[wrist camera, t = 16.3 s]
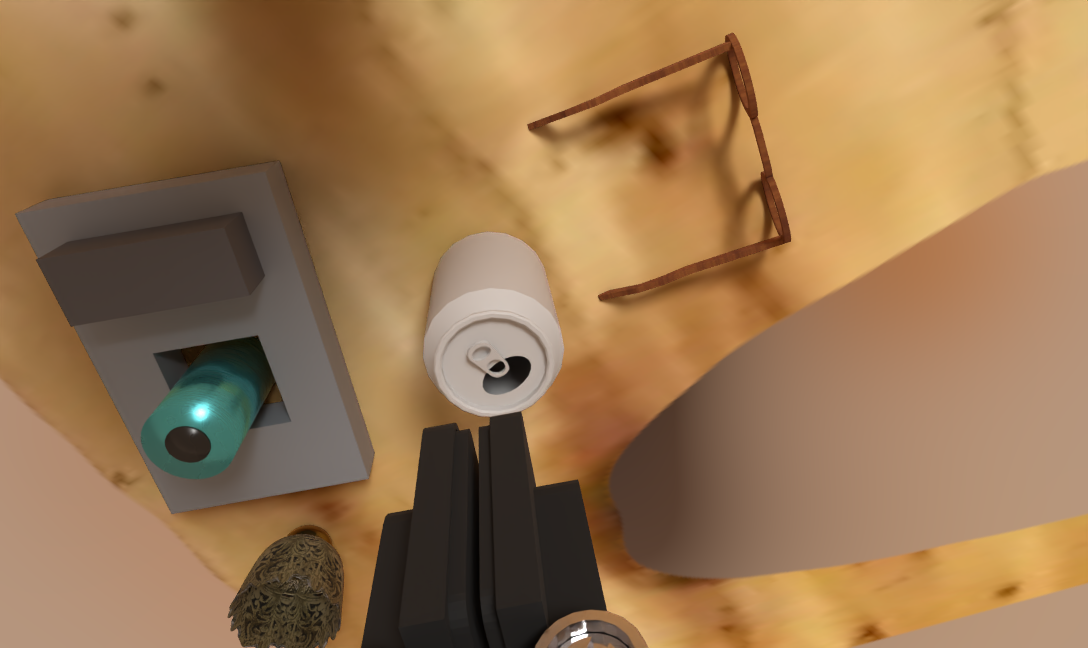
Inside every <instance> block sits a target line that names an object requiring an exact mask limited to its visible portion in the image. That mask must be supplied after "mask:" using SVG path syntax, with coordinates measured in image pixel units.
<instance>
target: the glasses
mask: <svg viewBox="0 0 1088 648" xmlns="http://www.w3.org/2000/svg"><path fill="white" fill-rule="evenodd" d="M726 51H727V54H728V58H729V62H730V66H731V69H732V73H733V77H734V81H735V84H736V87H737V90H738V93H739V96H740V99H741V102H742V104H743V106H744V109H745V111H746V112H747V114H748V116H749V117H750V120H751V123H752V126H753V130H754V133H755V137H756V141H757V145H758V148H759V152H760V156H761V160H762V164H763V168H764V171H763V172H761V180H762V185H763V189H764V192H765V196H766V200H767V203H768V207H769V210H770V213H771V216H772V219H773V222H774V225H775V227H776V230H777V232H778V234H779V236H777V237H774V238H771V239H767V240H764V241H761V242H758V243H755V244H752V245H749V246H746V247H743V248H740V249H737V250H734V251H731V252H728V253H725V254H722V255H719V256H716V257H713V258H710V259H706V260H703V261H700V262H697V263H694V264H691V265H688V266H685V267H683V268H681V269H678V270H676V271H673V272H671V273H669V274H666V275H664V276H661V277H659V278H656V279H653V280H650V281H647V282H645V283H642V284H638V285H633V286H628V287H623V288H618V289H613V290H609V291H607V292H604V293H602V294H600V295H598V296H599V298H600V300H604V299H609V298H614V297H620V296H625V295H630V294H635V293H639V292H642V291H646V290H649V289H652V288H655V287H658V286H661V285H664V284H667V283H669V282H672V281H674V280H676V279H679V278H681V277H684V276H686V275H689V274H692V273H695V272H698V271H701V270H704V269H708V268H711V267H714V266H717V265H720V264H723V263H726V262H729V261H732V260H735V259H738V258H741V257H745V256H748V255H751V254H754V253H757V252H760V251H763V250H766V249H769V248H772V247H775V246H779V245H782V244H784V243H788V242H791V234H790V229H789V224H788V220H787V216H786V213H785V209H784V206H783V203H782V199H781V196H780V193H779V191H778V188H777V185H776V182H775V180H774V178H773V174H772V168H771V164H770V160H769V156H768V152H767V148H766V145H765V141H764V137H763V133H762V130H761V126H760V123H759V120H758V117H757V116H758V110H757V103H756V97H755V93H754V88H753V84H752V80H751V76H750V73H749V69H748V66H747V63H746V60H745V56H744V54H743V51H742V48H741V46H740V43H739V41H738V39H737V37H736V35H735V34H734V33H731V34H728V35H726V36H725V43H723V44H720V45H718V46H716V47H713V48H711V49H708V50H706V51H703V52H701V53H699V54H696V55H694V56H691V57H689V58H687V59H684V60H682V61H679V62H677V63H674V64H672V65H670V66H667V67H665V68H662V69H660V70H658V71H655V72H653V73H650V74H648V75H645V76H643V77H641V78H638V79H636V80H633V81H631V82H629V83H626V84H624V85H621V86H619V87H617V88H615V89H613V90H611V91H609V92H607V93H605V94H603V95H600V96H598V97H596V98H594V99H591V100H589V101H586V102H584V103H582V104H579V105H577V106H574V107H572V108H569V109H567V110H565V111H562V112H559V113H557V114H554V115H551V116H549V117H546V118H543V119H541V120H538V121H535V122H533V123H530V124H527V125H528V128H529V130H532V129H534V128H537V127H540V126H542V125H545V124H548V123H551V122H553V121H556V120H559V119H562V118H564V117H567V116H570V115H573V114H575V113H578V112H581V111H583V110H586V109H589V108H591V107H594V106H597V105H599V104H601V103H604V102H606V101H608V100H610V99H612V98H615V97H617V96H619V95H621V94H624V93H626V92H628V91H631V90H633V89H636V88H638V87H641V86H643V85H645V84H648V83H650V82H653V81H655V80H658V79H660V78H662V77H665V76H667V75H670V74H672V73H675V72H677V71H680V70H682V69H684V68H687V67H689V66H692V65H694V64H697V63H699V62H702V61H704V60H706V59H709V58H711V57H714V56H716V55H719V54H721V53H724V52H726ZM737 62H738V64H737ZM738 65H739V68H740V71H739V68H738ZM740 72H741V75H742V78H741V75H740ZM742 79H743V82H744V85H743V82H742ZM744 86H745V88H744ZM745 90H746V91H745ZM772 196H773V197H772ZM773 199H774V200H773ZM774 202H775V204H774ZM775 205H776V207H775ZM776 209H777V210H776ZM777 212H778V213H777Z"/></svg>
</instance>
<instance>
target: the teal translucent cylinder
mask: <svg viewBox="0 0 1088 648" xmlns="http://www.w3.org/2000/svg"><path fill="white" fill-rule="evenodd" d="M274 382H275V378H274V375H273V373H272V370H271V367H270V365H269V362H268V360H267V357H266V355H265V352H264V349H263V347H262V344H261V342H260V340H258V339H256V338H254V337H252V336H250V337H245V338H239V339H233V340H227V341H222V342H216V343H210V344H207V345H206V347H205V348H204V349H203V350H202V352H201V353H200V354H199V355H198V357H197V358H196V359H195V360H194V362H193V363H192V364H191V365H190V367H189V368H188V369H187V370H186V372H185V373H184V374H183V375H182V377H181V378H180V379H179V380H178V382H177V383H176V384H175V385H174V387H173V388H172V389H171V390H170V392H169V393H168V394H167V395H166V397H165V398H164V399H163V400H162V402H161V403H160V404H159V405H158V407H157V408H156V409H155V410H154V412H153V413H152V414H151V415H150V417H149V418H148V419H147V420H146V422H145V423H144V425H143V427H142V431H141V444H142V447H143V450H144V452H145V453H146V455H147V457H148V458H149V459H150V460H151V461H152V462H153V463H154V464H155V465H156V466H157V467H159V468H160V469H162V470H163V471H165V472H167V473H169V474H171V475H174V476H177V477H181V478H186V479H205V478H209V477H212V476H215V475H217V474H219V473H221V472H223V471H224V470H225V469H226V468H227V467H228V466H229V465H230V464H231V462H232V460H233V458H234V457H235V455H236V453H237V451H238V449H239V447H240V445H241V444H242V442H243V440H244V438H245V436H246V434H247V432H248V431H249V429H250V427H251V425H252V423H253V421H254V419H255V418H256V416H257V414H258V412H259V410H260V408H261V406H262V405H263V403H264V401H265V399H266V397H267V395H268V393H269V392H270V390H271V388H272V386H273V384H274Z"/></svg>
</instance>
